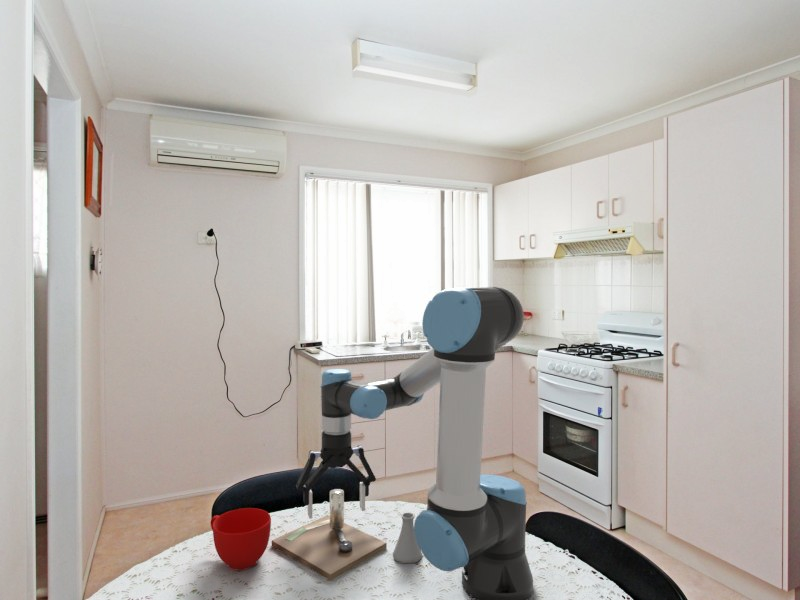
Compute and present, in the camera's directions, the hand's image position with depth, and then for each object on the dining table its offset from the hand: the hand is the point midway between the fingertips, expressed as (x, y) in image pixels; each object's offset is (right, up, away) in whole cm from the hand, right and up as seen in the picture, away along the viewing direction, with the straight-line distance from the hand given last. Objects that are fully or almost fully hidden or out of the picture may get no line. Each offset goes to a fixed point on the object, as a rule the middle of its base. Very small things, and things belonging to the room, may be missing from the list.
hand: (336, 512), depth 133 cm
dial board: (-1, -7, -5) cm, 8 cm away
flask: (+18, -7, -9) cm, 21 cm away
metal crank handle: (+1, -5, -3) cm, 6 cm away
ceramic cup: (-22, -7, -11) cm, 26 cm away
